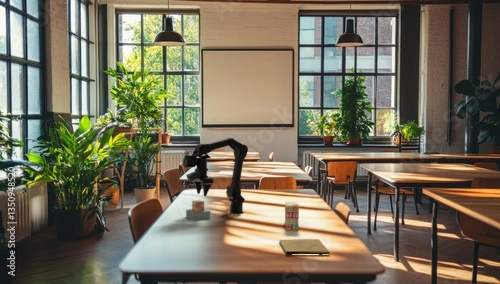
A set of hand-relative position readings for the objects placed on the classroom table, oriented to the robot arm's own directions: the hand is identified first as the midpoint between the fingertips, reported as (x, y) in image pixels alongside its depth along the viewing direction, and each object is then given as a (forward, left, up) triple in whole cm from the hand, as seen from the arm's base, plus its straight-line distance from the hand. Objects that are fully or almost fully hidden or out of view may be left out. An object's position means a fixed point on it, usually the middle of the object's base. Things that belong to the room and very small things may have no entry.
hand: (201, 195), depth 274 cm
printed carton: (-32, +43, -12) cm, 54 cm away
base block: (+4, +4, -12) cm, 13 cm away
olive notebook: (-11, +84, -13) cm, 86 cm away
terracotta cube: (+4, +4, -8) cm, 9 cm away
